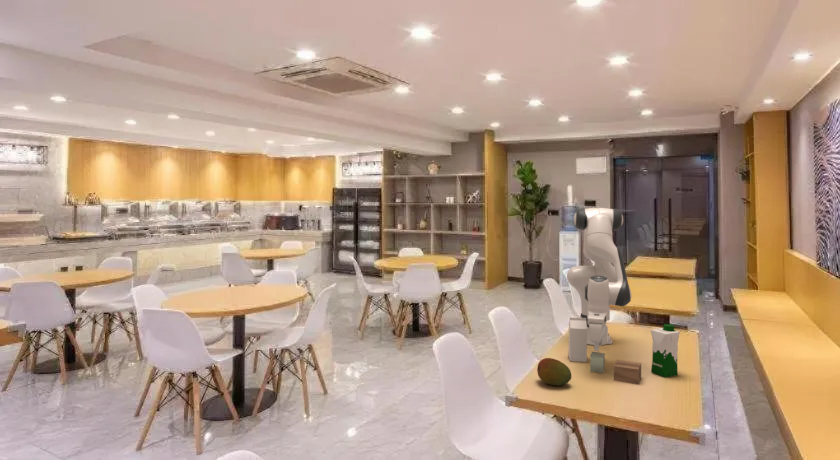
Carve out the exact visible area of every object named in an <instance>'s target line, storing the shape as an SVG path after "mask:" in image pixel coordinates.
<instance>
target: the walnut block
mask: <svg viewBox="0 0 840 460" xmlns="http://www.w3.org/2000/svg"><path fill="white" fill-rule="evenodd" d="M641 380H642V362H636V361H630V360H629V361H628V360H622V359H617V360H616V361H615V363H614V365H613V381H616V382H621V383H629V384H634V385H639V383H640V381H641Z"/></svg>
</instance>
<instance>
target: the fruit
mask: <svg viewBox="0 0 840 460" xmlns="http://www.w3.org/2000/svg"><path fill="white" fill-rule="evenodd" d="M536 371H537V372H536V373H537V375H538V378H539V379H540V380H541V381H542V382H543V383H546V384H547V385H552V386H563V385H566V384H568V383H569V382H570V381H571V380H572V372H571V370H570V367H568V365H566V364H565V363H564V362H562V361H560V360H558V359H556V358H551V357H544V358H542V359H541V360H540V361H539V362H538V364H537V369H536Z"/></svg>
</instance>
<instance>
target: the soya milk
mask: <svg viewBox="0 0 840 460" xmlns="http://www.w3.org/2000/svg"><path fill="white" fill-rule="evenodd" d="M650 334H651V336H652V337H651V338H652V357H651V358H652V361H651V368H650V369H651V371H650V372H651V373H652V374H654V375H657V376H659V377H663V378H669V377H676V376H678V375H679V374H678V373H679V372H678V350H679V349H678V347H679V346H678V343H679V338H680V334H681V333H680V331H677V330H675V325H674V324H671V323H670V324H669V323H664V324H663V327H659V328H654V329H650Z"/></svg>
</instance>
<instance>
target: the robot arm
mask: <svg viewBox="0 0 840 460" xmlns="http://www.w3.org/2000/svg"><path fill="white" fill-rule="evenodd" d="M573 223H574V225H575V228H576V229H578V230H581V231H584V235H583V249H582V250H583V251H582V253H583V256H584V257H585V258H586V259H588V260H590V261H592V262H594V265H576V266H571V267H570V268H569V269H568V271H567V273H566V278H567V279H566V280H567V282H568V283H569V284H570V285H571V286H572V287H573V288H574V289H575V290H576V291H577V292H578V294H579V297H580V305H581V306H580V307H581V308H580V309H581V312H580V317H579V318H586V323H587V345H591V346H593V350H594V351H593V352H599V351H600V347H601V346H604V345H613V340H612V338H611V336H610V333H609V327H608V325H606V324H607V322H608V321H610V320H611V319H610V318H611V317H610V316H611V315H610V314H611V313H610V311H611V307H610V305H611V306H617V307H626V306H627V305H629V303H630V302H631V300H632V291H631V288H630V285H629V282H628V277H627V271H626V267H625V262H624V258H623V254H622V251H621V250H620V248H619V247H618V246H616V244H615V243H614V240H613V232H616V231H618V230H620V229H621V228H622V225H624V216H623V213H622V211H621V210H620V209H618V208H607V207H591V208H590V207H589V208H585V207H583V208H579V209H577V210H576V211H575V213H574V216H573Z"/></svg>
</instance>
